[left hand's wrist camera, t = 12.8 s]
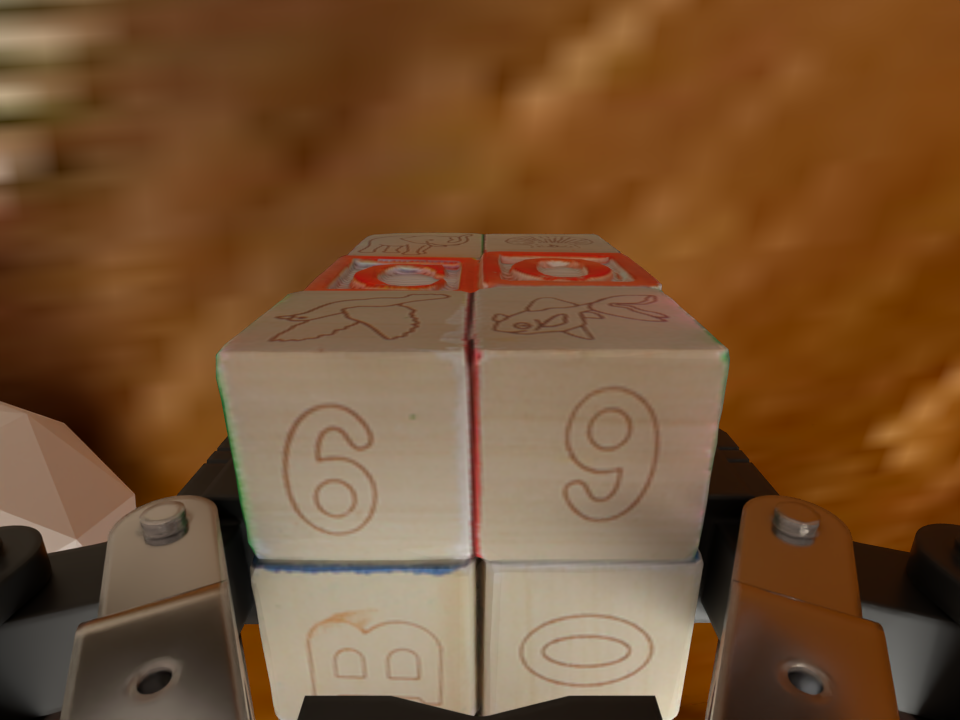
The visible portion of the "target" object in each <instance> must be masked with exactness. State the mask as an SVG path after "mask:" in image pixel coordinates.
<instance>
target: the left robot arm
mask: <svg viewBox="0 0 960 720" xmlns="http://www.w3.org/2000/svg"><path fill="white" fill-rule="evenodd" d="M698 549H699V551H700V553H701V556H702V559H703V563H704V564H703V570H702V576H701V582H700V589H699V595H698V601H697V607H696V613H695V619H694V623H711V624H712V626H713V628H714V630H715V632H716V634H717V636H718V644H717V649H716V655H715V661H714V667H713V673H712V679H711V685H710V692H709V698H708V704H707V710H706V716H705V720H960V525H954V524H931V525H927V526H924V527H922V528H920V529H919V530H918V531H917V533H916V535H915V539H914V542H913V545H912V548H911V551H910V552H904V551H899V550H894V549H889V548H884V547H878V546H873V545H868V544H863V543H858V542H854V541H852V536H851V532H850V530H849V529H848V527H847V526H846V525H845V524H844V522H843V521H841V520H840V519H839V518H838V517H837V516H835V515H834V514H832V513H831V512H829V511H827V510H826V509H824V508H822V507H820V506H818V505H815V504H813V503H810V502H807V501H804V500H801V499H797V498H793V497H788V496H780V495H779V494H778V493H777V492H776V491H775V489H774V488H773V487H772V486H771V485H770V484H769V482H768V481H767V480H766V479H765V478H764V477H763V475H762V474H761V473H760V472H759V471H758V469H757V468H756V467H755V466H754V465H753V464H752V463H749V459H748V458H747V456H746V455H745V454H744V453H743V452H742V451H741V450H739V447H738V446H737V445H736V444H735V442H734V441H733V440H732V439H731V438H730V436H729V435H728V434H727V433H726V432H724V431H722V430H721V429H719V428H718V440H717V446H716V451H715V456H714V461H713V466H712V472H711V477H710V484H709V492H708V499H707V505H706V511H705V517H704V523H703V528H702V533H701V537H700V542H699V546H698ZM254 555H255V554H254V552H253V550H252V548H251V547H250V545H249V543H248V537H247V531H246V526H245V522H244V519H243V514H242V510H241V505H240V500H239V494H238V487H237V481H236V474H235V469H234V464H233V459H232V454H231V449H230V444H229V439H228V436H227V438H226V439H225V440H224V441H223V442H222V443H221V445H220V446H219V447H218V448H217V451H215V452H214V453H213V454H212V455H211V456H210V457H209V459H208V460H207V464H203V466H202V467H201V468H200V469H199V470H198V471H197V473H196V474H195V475H194V476H193V477H192V478H191V480H190V481H189V482H188V483H187V484H186V485H185V486H184V488H183V489H182V490H181V491H180V492H179V493H178V495H177V496H172V497H167V498H163V499H159V500H156V501H153V502H150V503H147V504H145V505H142V506H140V507H138V508H136V509H134V510H133V511H131V512H129V513H128V514H126V515H125V516H123V517H122V518H121V519H120V520H119V521H117V522H116V524H115V525H114V526H113V527H112V529H111V530H110V532H109V536H108V541H106V542H102V543H98V544H94V545H88V546H83V547H78V548H73V549H68V550H62V551H57V552H52V553H47V551H46V547H45V544H44V541H43V538H42V535H41V533H40V532H39V531H38V530H36V529H35V528H32V527H29V526H22V525H12V526H2V527H0V720H255V716H254V710H253V704H252V698H251V692H250V685H249V679H248V673H247V667H246V661H245V655H244V649H243V644H242V638H241V633H240V632H241V630H242V628H243V626H244V624H259V622H258V616H257V609H256V604H255V599H254V595H253V590H252V585H251V573H250V567H251V564H252V561H253V558H254ZM297 720H663V719H662V716H661V713H660V709H659V706H658V703H657V700H656V697H655V696H565V697H561V698H557V699H553V700H549V701H545V702H541V703H537V704H533V705H529V706H525V707H521V708H517V709H513V710H509V711H505V712H501V713H497V714H493V715H488V716H472V715H467V714H463V713H459V712H455V711H451V710H447V709H443V708H439V707H435V706H431V705H427V704H423V703H419V702H415V701H411V700H407V699H403V698H399V697H395V696H305V697H304V700H303V703H302V706H301V709H300V713H299V716H298V719H297Z"/></svg>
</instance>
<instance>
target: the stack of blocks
mask: <svg viewBox="0 0 960 720" xmlns="http://www.w3.org/2000/svg"><path fill="white" fill-rule="evenodd" d="M661 289H662V285H661V284H660V283H659V281H658V280H656V279H655V278H654V277H653V276H651V275H650V274H649V273H648V272H646V271H645V270H644V269H643V268H642V267H640V266H639V265H638V264H636V263H635V262H634V261H632V260H631V259H630V258H629V257H627V256H626V255H623V254H621V253H620V251H618V250H617V249H615V248H614V247H612V246H611V245H610V244H609V243H607V242H605V241H604V240H603V239H602V238H600V237H599V236H598V235H595V234H486V235H484V234H474V233H395V234H378V235H371V236H368V237H366V238H365V239H364V240H362V241H361V242H360V243H359V244H358V245H357V246H356V247H355V248H354V249H353V250H352V251H351V252H350V253H349V254H348V255H345V256H342V257H340V258H339V259H337V260H336V261H335V262H334V263H333V264H332V265H331V266H329V267H328V268H327V269H326V270H325V271H324V272H323V273H321V274H320V275H319V276H318V277H317V278H315V279H314V280H313V281H312V282H311V283H310V284H309V285H308V286H307V287H306V288H305V290H304V291H301V292H295V293H291V294H288V295H287V296H286V297H284V298H283V299H282V300H281V301H280V302H278V303H277V304H276V305H275V306H273V307H272V308H271V309H270V310H268V311H267V312H266V313H264V314H263V315H262V316H260V317H259V318H258V319H257V320H255V321H254V322H253V323H252V324H251V325H249V326H248V327H247V328H245V329H244V330H243V331H242V332H240V333H239V334H238V335H236V336H235V337H234V338H233V339H231V340H230V341H229V342H227V343H226V344H225V345H224V346H223V347H222V348H221V350H220V351H219V352H218V353H217V354H216V380H217V384H218V388H219V392H220V396H221V401H222V406H223V412H224V417H225V423H226V428H227V433H228V439H229V444H230V449H231V454H232V459H233V464H234V469H235V474H236V481H237V487H238V494H239V500H240V505H241V510H242V514H243V519H244V522H245V526H246V531H247V537H248V543H249V545H250V547H251V548H252V550H253V552H254V554H255V555H254V558H253V561H252V564H251V567H250V573H251V585H252V590H253V595H254V599H255V604H256V609H257V616H258V622H259V628H260V634H261V640H262V645H263V650H264V655H265V660H266V665H267V670H268V675H269V680H270V685H271V691H272V698H273V705H274V709H275V713H276V715H277V717H278V718H279V720H297V719H298V716H299V713H300V709H301V706H302V703H303V700H304V697H305V696H395V697H399V698H403V699H407V700H411V701H415V702H419V703H423V704H427V705H431V706H435V707H439V708H443V709H447V710H451V711H455V712H459V713H463V714H467V715H472V716H488V715H493V714H497V713H501V712H505V711H509V710H513V709H517V708H521V707H525V706H529V705H533V704H537V703H541V702H545V701H549V700H553V699H557V698H561V697H565V696H655V697H656V700H657V703H658V706H659V709H660V713H661V716H662V719H663V720H672V719H673V718H675V717H676V716H677V714H678V712H679V707H680V701H681V696H682V690H683V684H684V678H685V672H686V666H687V660H688V654H689V649H690V643H691V637H692V631H693V625H694V619H695V613H696V607H697V601H698V595H699V589H700V582H701V576H702V570H703V564H704V563H703V559H702V556H701V553H700V551H699V549H698V546H699V542H700V537H701V533H702V528H703V523H704V517H705V511H706V505H707V499H708V492H709V484H710V477H711V472H712V466H713V461H714V456H715V451H716V446H717V440H718V428H719V421H720V417H721V413H722V407H723V401H724V394H725V388H726V382H727V376H728V370H729V362H730V358H729V351H728V349H727V348H726V347H725V346H724V345H723V344H721V343H720V342H719V341H718V340H717V339H716V338H715V337H714V336H713V335H712V334H710V333H709V332H708V331H707V330H706V329H705V328H704V327H703V326H702V325H701V324H700V323H698V322H697V321H696V320H695V319H694V318H693V317H691V316H690V315H689V314H688V313H687V312H685V311H684V310H683V309H682V308H681V307H680V306H679V305H678V304H677V303H676V302H675V301H674V300H672V299H671V298H670V297H669V296H667V295H665V294H664V293H663V291H661Z"/></svg>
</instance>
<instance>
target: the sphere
mask: <svg viewBox="0 0 960 720" xmlns="http://www.w3.org/2000/svg"><path fill="white" fill-rule="evenodd" d="M134 509H136V502H135V494H134V493H133V492H132V491H131V490H130V489H129V488H128V487H127V486H126V485H125V484H124V483H123V482H122V481H121V480H120V479H119V478H118V477H117V476H116V475H115V474H114V473H113V472H112V471H111V470H110V469H109V468H108V467H107V466H106V465H105V464H104V463H103V462H102V461H101V460H100V459H99V457H98V456H97V455H96V454H95V453H94V452H93V451H92V450H91V449H90V448H89V447H88V446H87V445H86V444H85V443H84V442H83V441H82V440H81V439H80V438H79V437H78V436H77V435H76V434H75V433H74V432H73V431H72V430H71V429H70V428H69V427H68V426H67V425H66V424H65V423H63V422H60V421H57V420H54V419H51V418H48V417H45V416H42V415H39V414H36V413H33V412H31V411H28V410H25V409H22V408H19V407H16V406H13V405H10V404H7V403H4V402H1V401H0V527H2V526H12V525H22V526H29V527H32V528H35V529H36V530H38V531H39V532H40V533H41V535H42V538H43V541H44V544H45V547H46V551H47V553H52V552H57V551H62V550H68V549H73V548H78V547H83V546H88V545H94V544H98V543H102V542H106V541H108V536H109V532H110V530H111V529H112V527H113V526H114V525H115V524H116V522H117V521H119V520H120V519H121V518H122V517H123V516H125V515H126V514H128V513H129V512H131V511H133V510H134Z"/></svg>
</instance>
